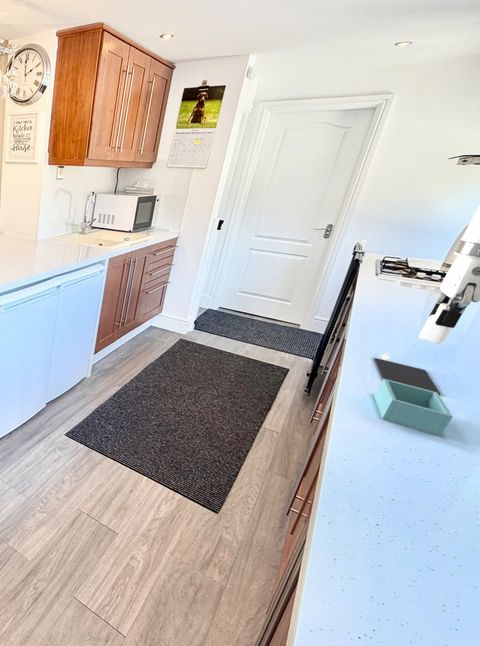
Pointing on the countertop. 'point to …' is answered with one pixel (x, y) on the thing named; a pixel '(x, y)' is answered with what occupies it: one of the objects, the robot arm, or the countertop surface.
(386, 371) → the mat
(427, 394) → the bin
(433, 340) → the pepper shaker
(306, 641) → the countertop surface
